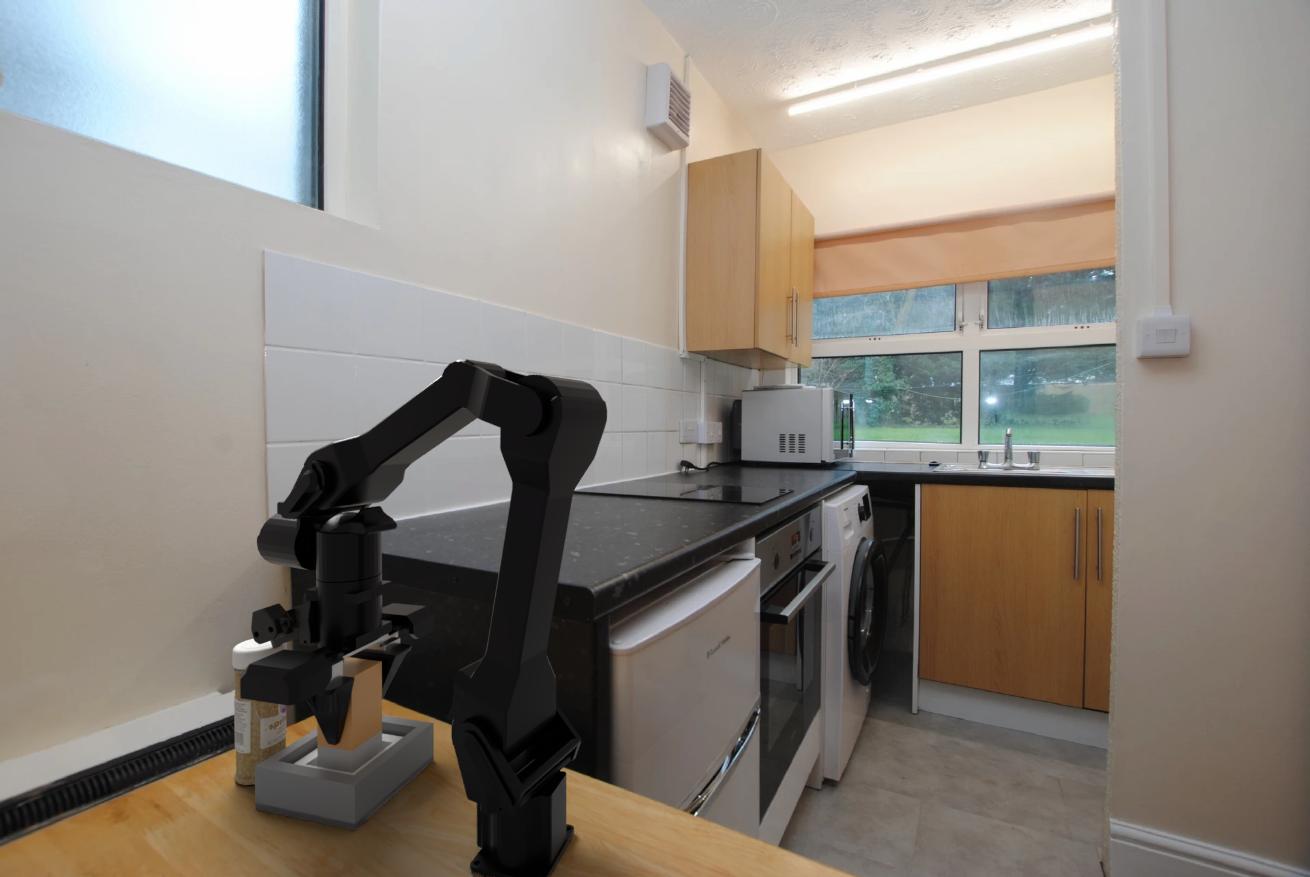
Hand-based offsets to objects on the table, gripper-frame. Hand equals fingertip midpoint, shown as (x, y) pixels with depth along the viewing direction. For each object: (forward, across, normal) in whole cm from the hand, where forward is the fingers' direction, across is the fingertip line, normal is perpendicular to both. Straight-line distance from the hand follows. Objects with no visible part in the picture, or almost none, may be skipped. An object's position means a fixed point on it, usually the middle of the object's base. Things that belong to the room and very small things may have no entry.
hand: (350, 732), depth 57 cm
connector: (+4, 0, 0) cm, 4 cm away
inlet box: (+5, 0, 0) cm, 5 cm away
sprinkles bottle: (+5, +1, -10) cm, 11 cm away
